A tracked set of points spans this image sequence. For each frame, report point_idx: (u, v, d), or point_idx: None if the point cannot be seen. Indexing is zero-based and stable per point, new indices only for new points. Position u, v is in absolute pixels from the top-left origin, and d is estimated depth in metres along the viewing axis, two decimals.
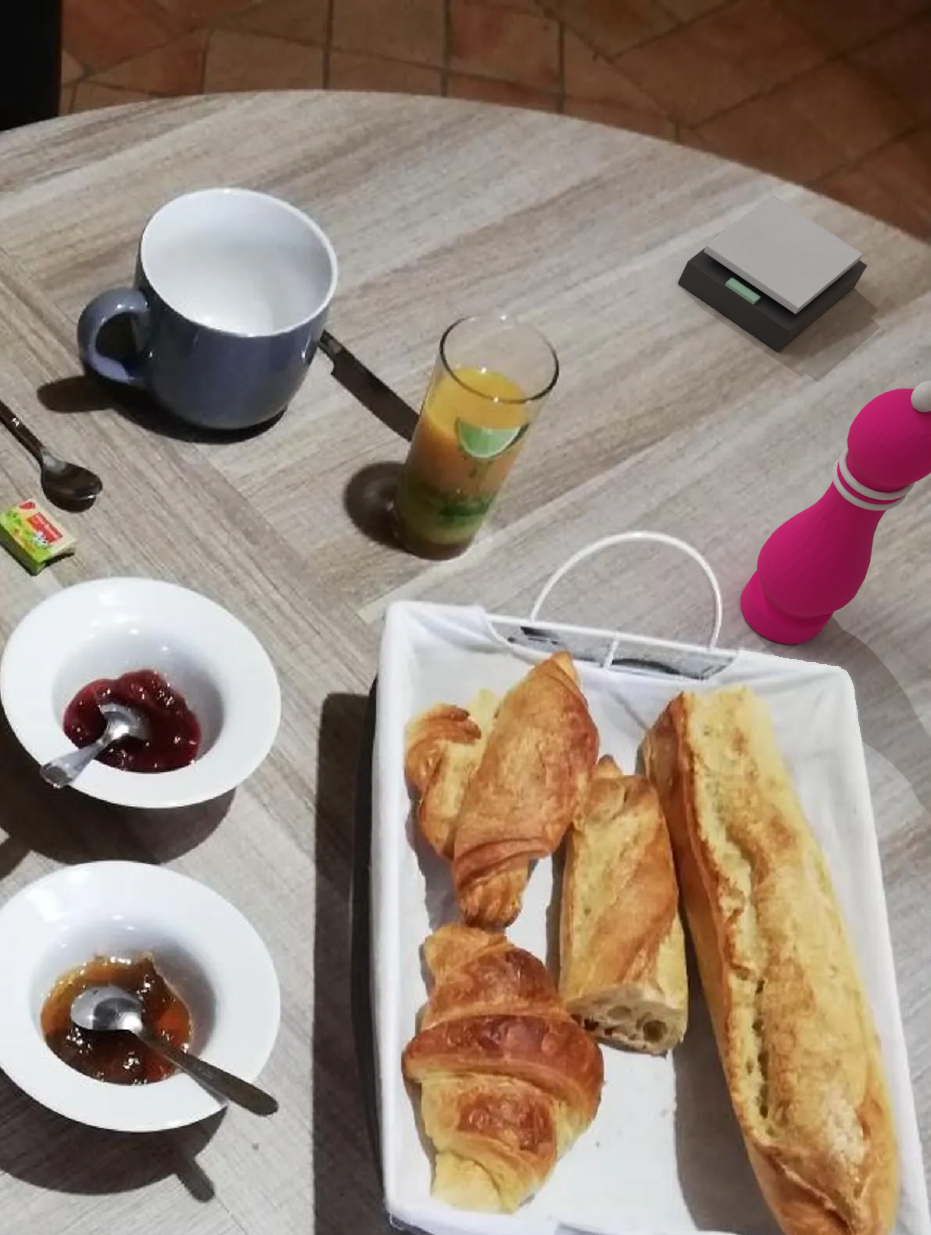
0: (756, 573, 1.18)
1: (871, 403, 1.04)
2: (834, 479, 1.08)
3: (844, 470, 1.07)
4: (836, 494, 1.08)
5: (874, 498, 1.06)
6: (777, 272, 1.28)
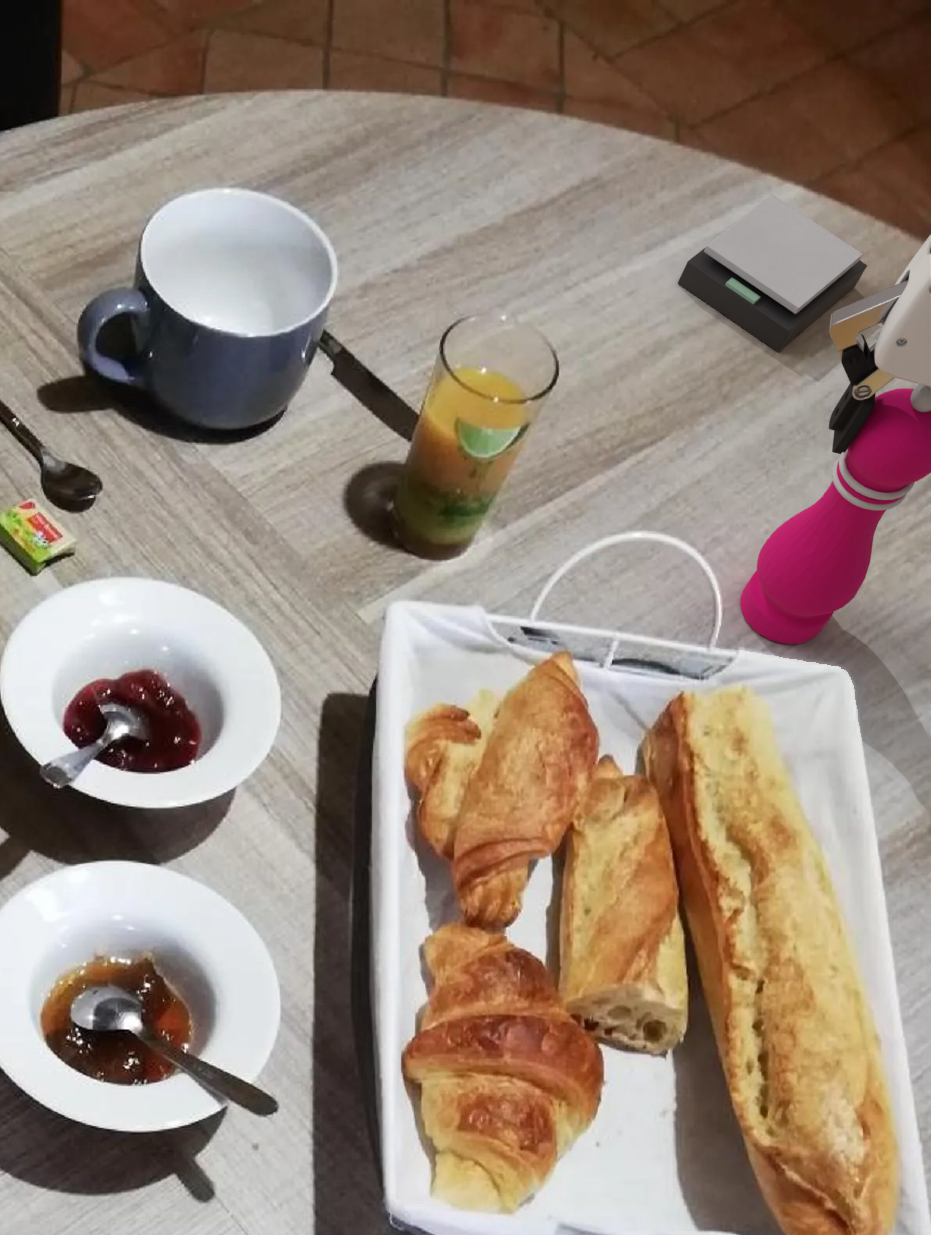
0: (756, 573, 1.18)
1: None
2: (834, 479, 1.08)
3: (844, 470, 1.07)
4: (836, 494, 1.08)
5: (874, 498, 1.06)
6: (777, 272, 1.28)
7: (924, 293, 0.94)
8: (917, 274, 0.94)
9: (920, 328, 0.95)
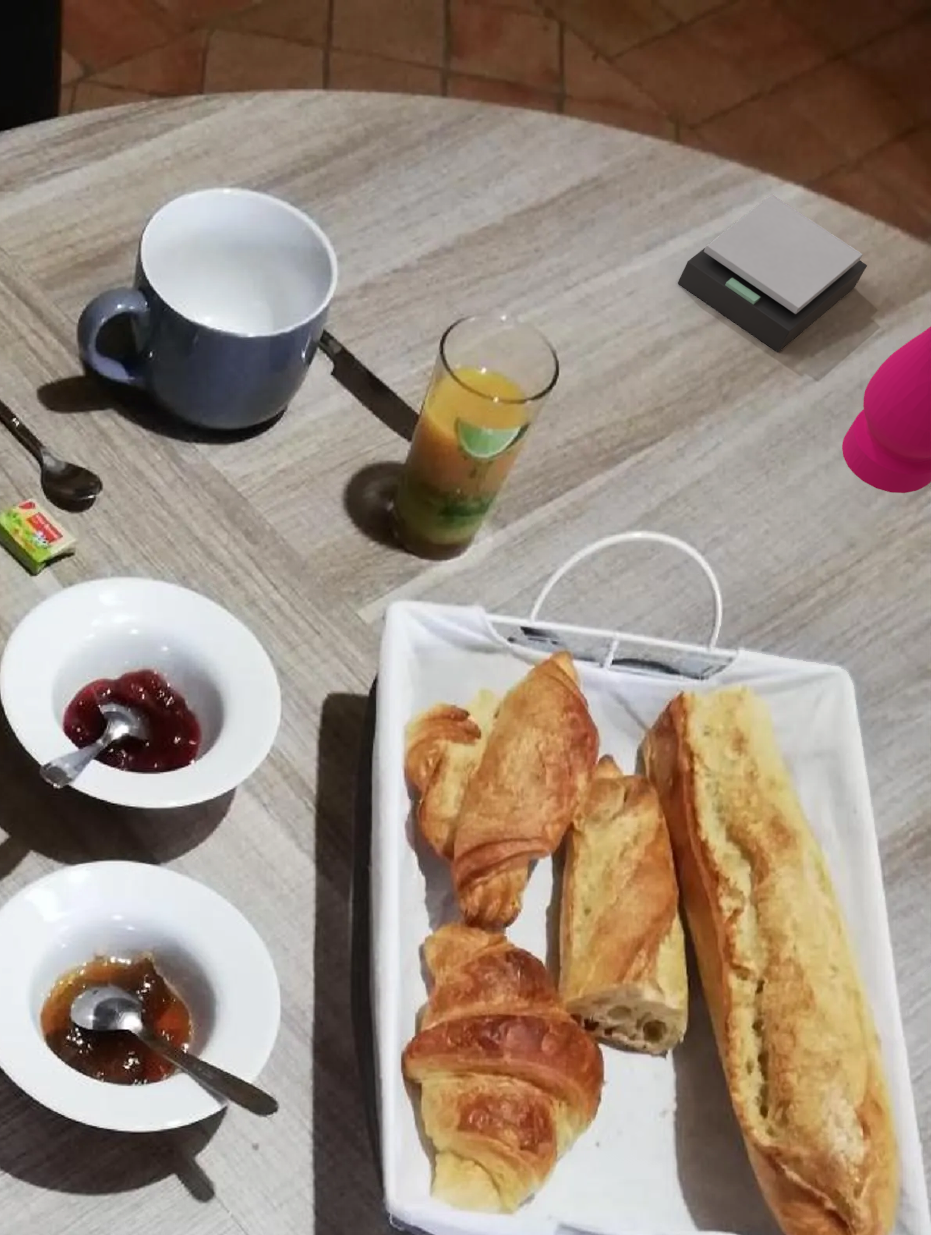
0: (860, 414, 1.06)
1: None
2: None
3: None
4: None
5: None
6: (777, 272, 1.28)
7: None
8: None
9: None
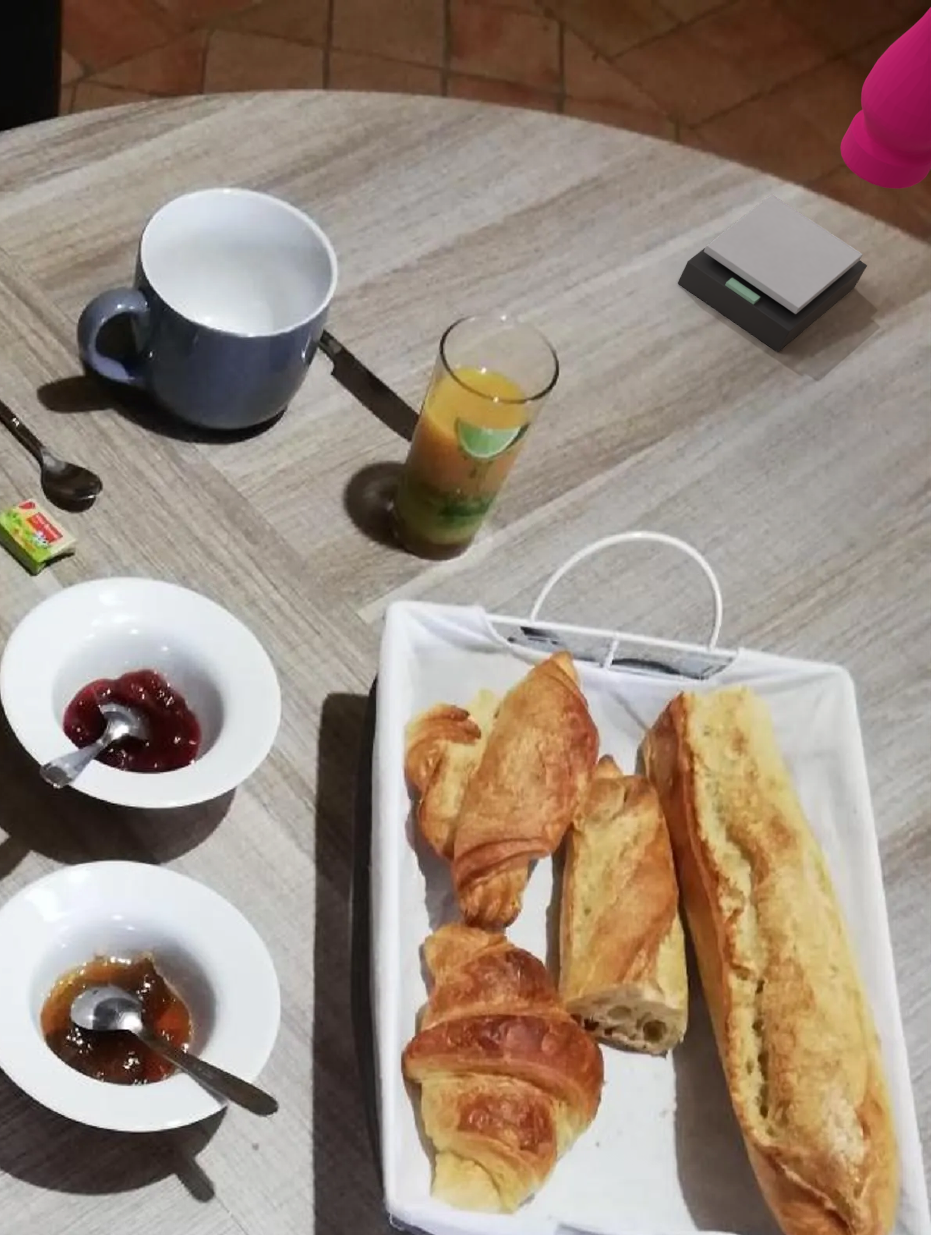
0: (858, 114, 1.12)
1: None
2: None
3: None
4: None
5: None
6: (777, 272, 1.28)
7: None
8: None
9: None
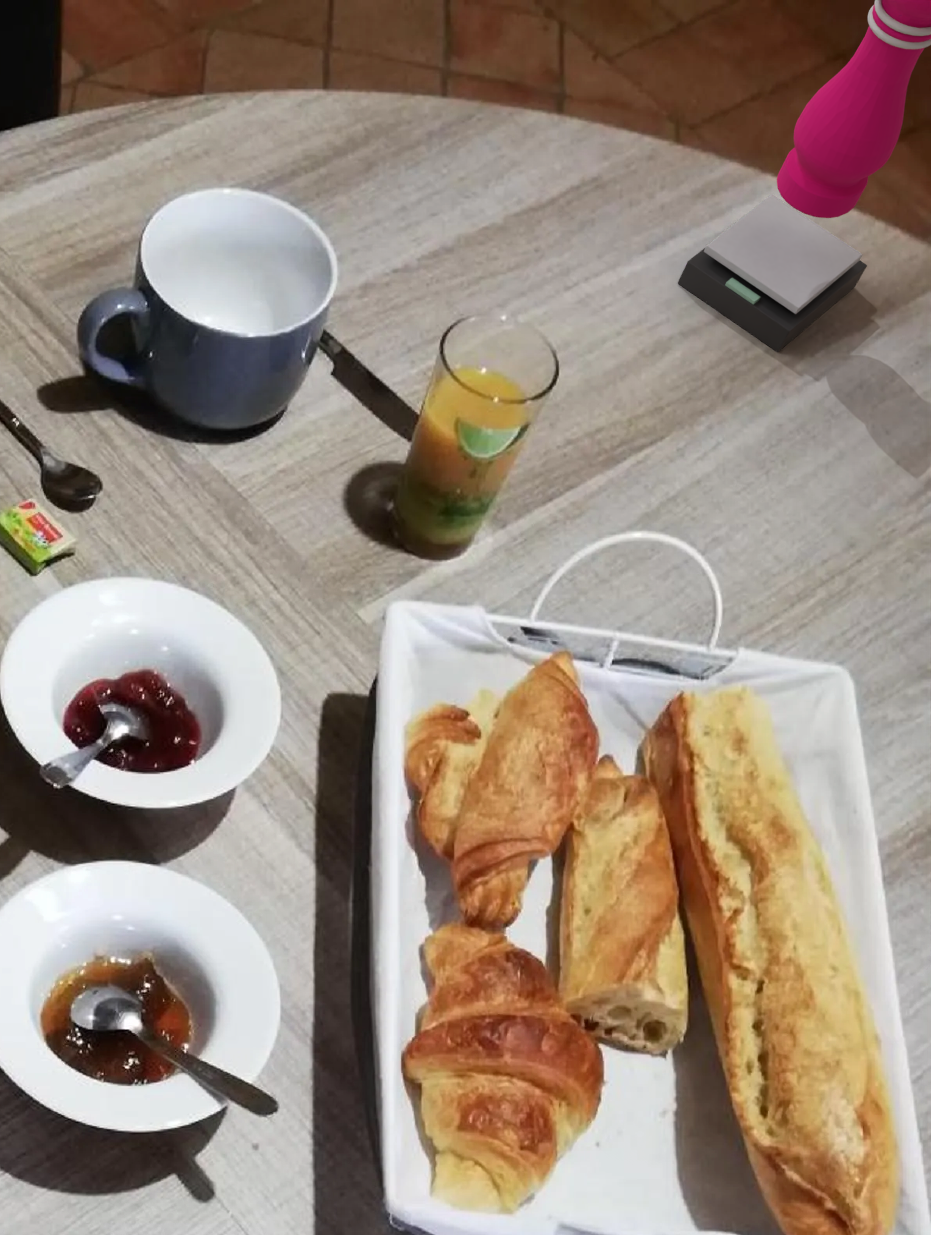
0: (792, 150, 1.24)
1: None
2: (869, 21, 1.13)
3: (879, 9, 1.12)
4: (871, 38, 1.14)
5: (908, 34, 1.12)
6: (777, 272, 1.28)
7: None
8: None
9: None
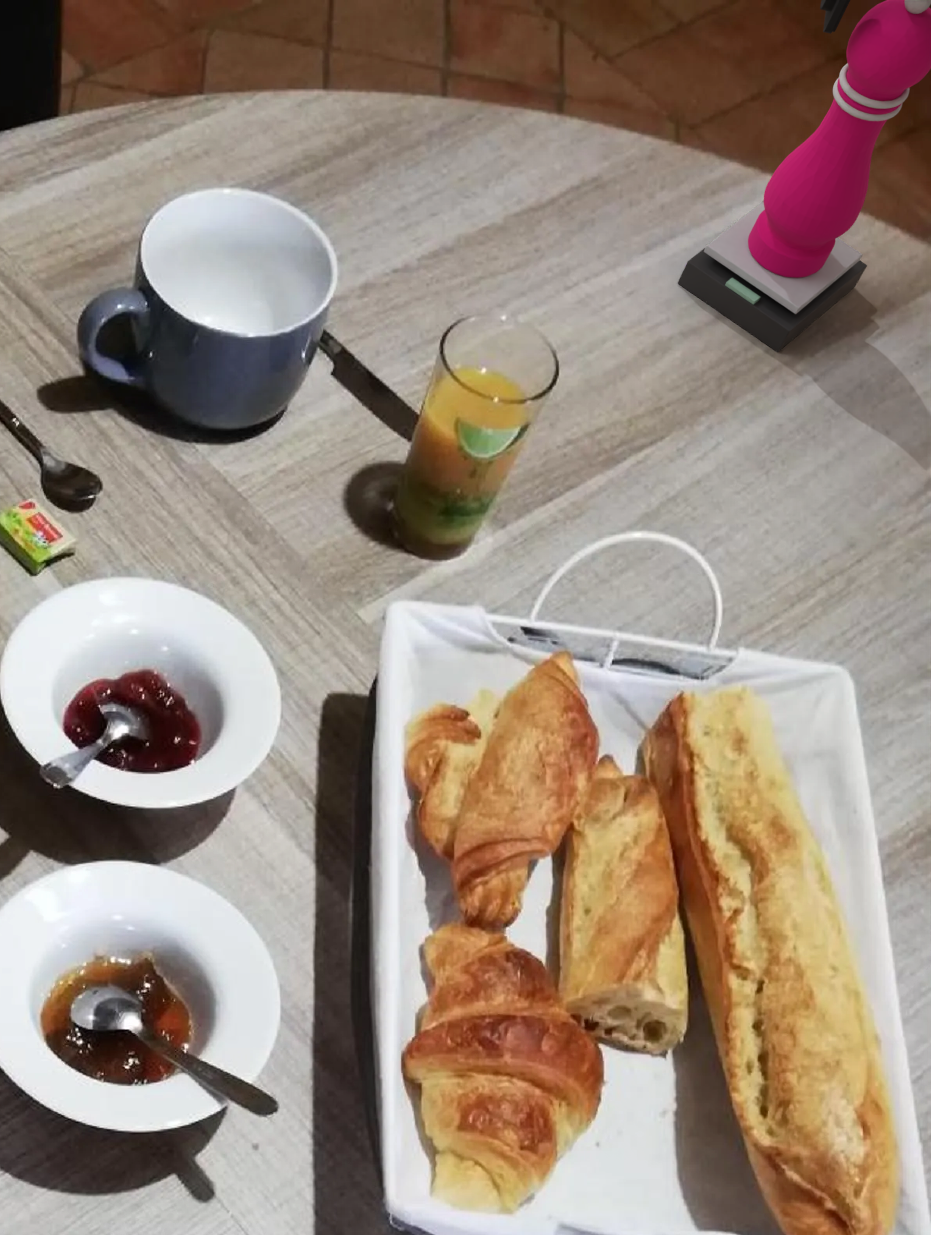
0: (763, 212, 1.28)
1: (868, 12, 1.14)
2: (834, 94, 1.18)
3: (844, 82, 1.17)
4: (836, 110, 1.18)
5: (871, 107, 1.16)
6: None
7: None
8: None
9: None
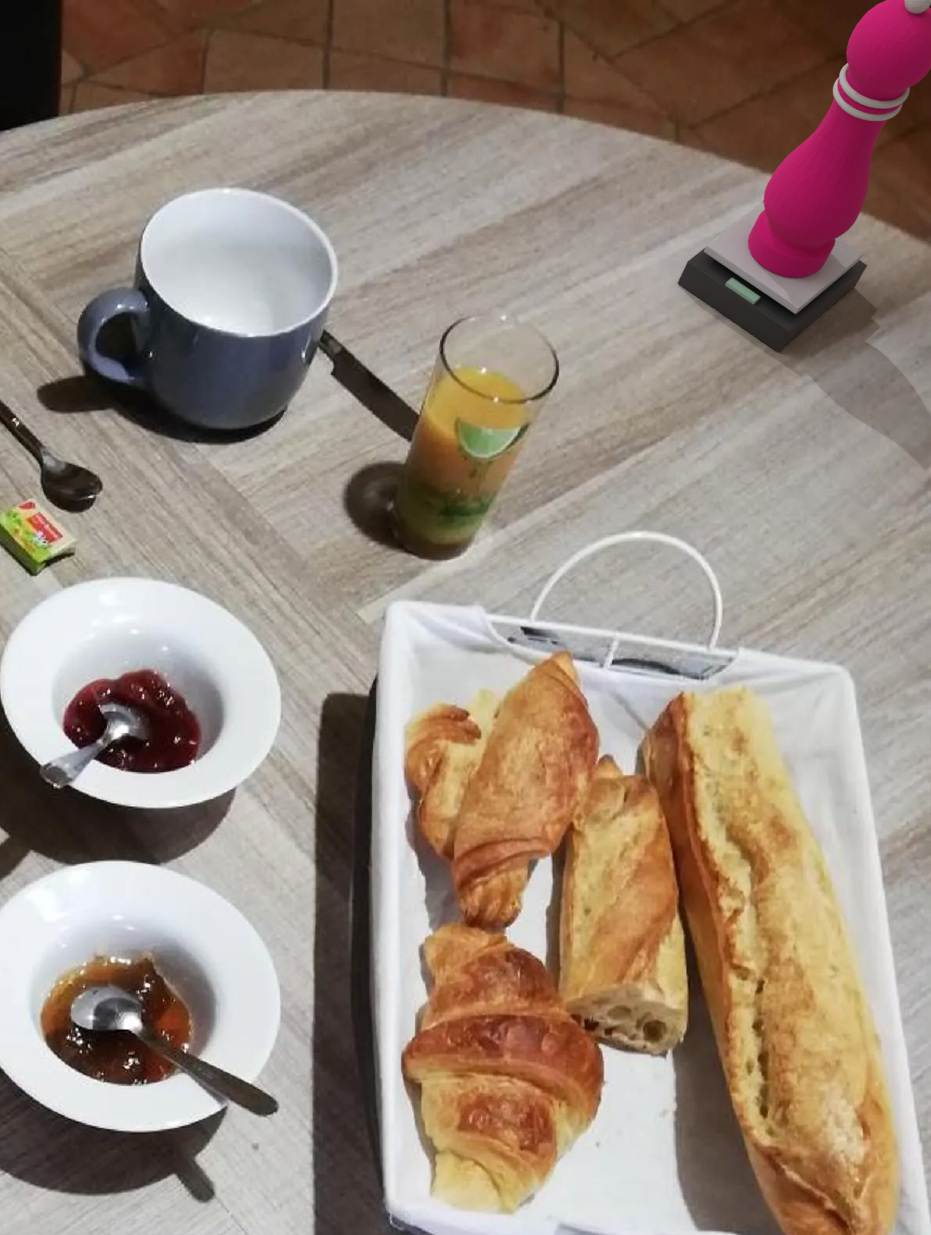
0: (763, 212, 1.28)
1: (868, 11, 1.14)
2: (835, 94, 1.18)
3: (844, 82, 1.17)
4: (836, 110, 1.18)
5: (871, 106, 1.16)
6: None
7: None
8: None
9: None
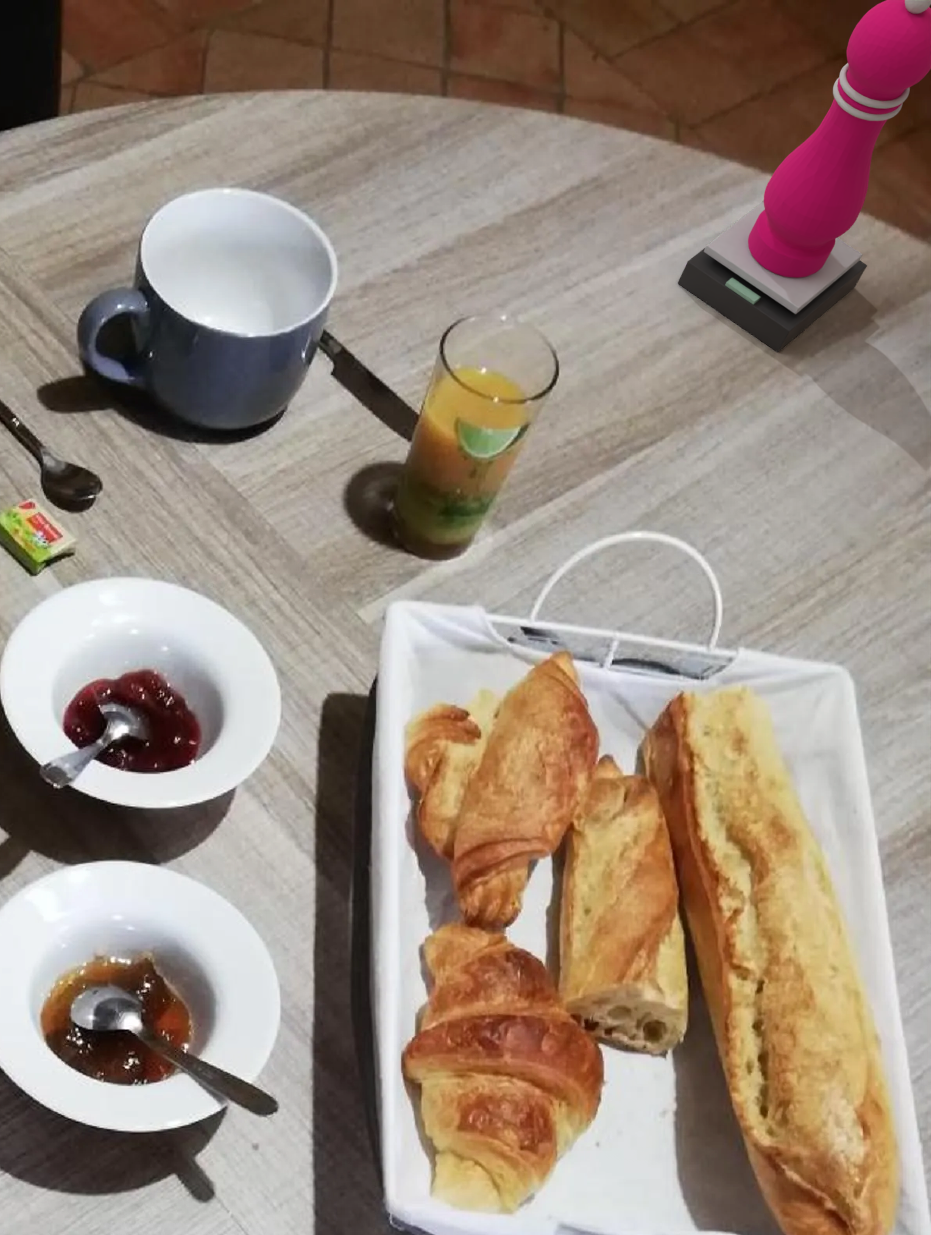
0: (763, 212, 1.28)
1: (868, 11, 1.14)
2: (835, 94, 1.18)
3: (844, 82, 1.17)
4: (836, 110, 1.18)
5: (871, 106, 1.16)
6: None
7: None
8: None
9: None
